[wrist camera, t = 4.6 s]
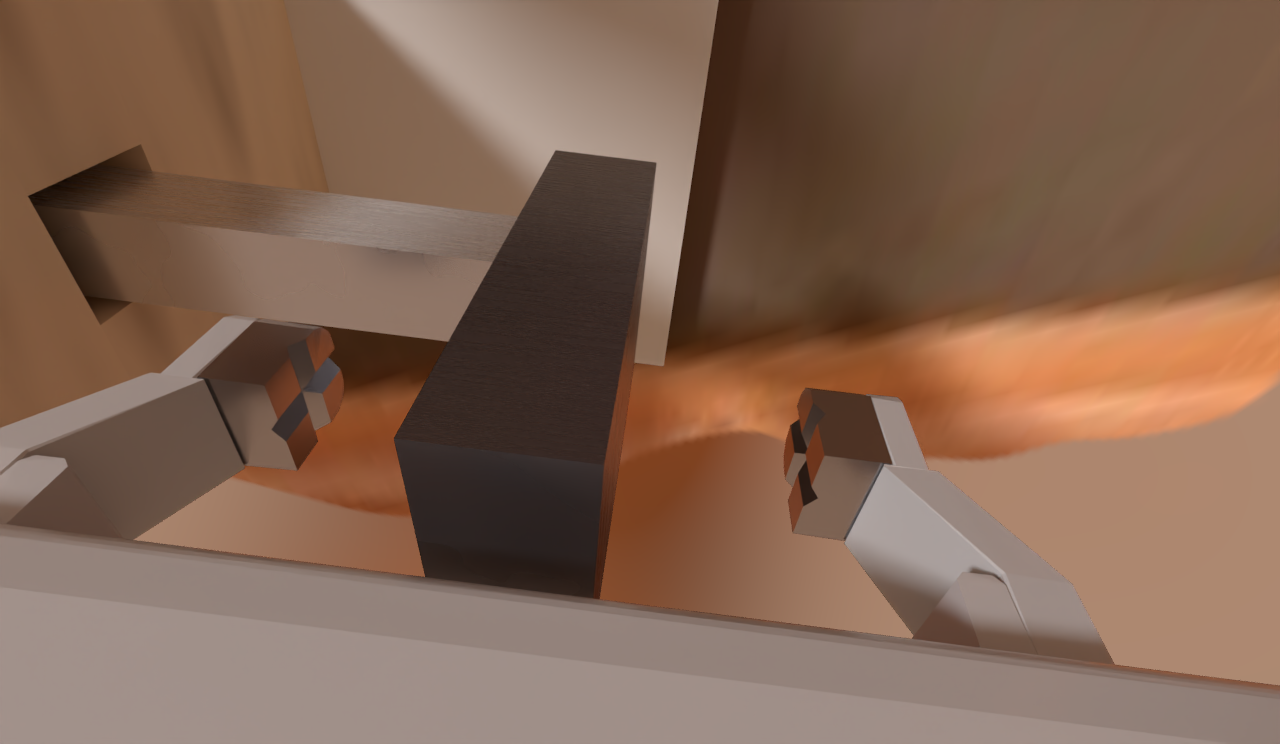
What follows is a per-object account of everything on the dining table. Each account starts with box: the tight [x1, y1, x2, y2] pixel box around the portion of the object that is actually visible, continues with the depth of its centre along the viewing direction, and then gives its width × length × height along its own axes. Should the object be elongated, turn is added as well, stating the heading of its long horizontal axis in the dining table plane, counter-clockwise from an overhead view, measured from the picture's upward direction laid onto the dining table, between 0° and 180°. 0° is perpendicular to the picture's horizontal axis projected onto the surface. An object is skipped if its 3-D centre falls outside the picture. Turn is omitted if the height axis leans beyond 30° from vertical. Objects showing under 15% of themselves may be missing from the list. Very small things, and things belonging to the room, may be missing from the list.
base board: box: [284, 0, 719, 366], centre depth 19 cm, size 30×16×1 cm, turn 84°
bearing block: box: [0, 0, 329, 428], centre depth 14 cm, size 6×10×12 cm, turn 174°
